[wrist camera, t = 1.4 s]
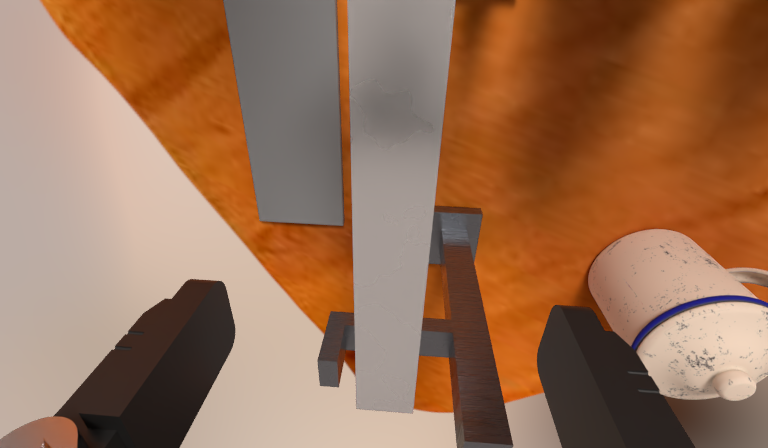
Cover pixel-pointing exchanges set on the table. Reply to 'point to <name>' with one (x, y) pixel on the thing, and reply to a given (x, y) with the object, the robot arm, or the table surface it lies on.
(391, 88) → the aluminium rail
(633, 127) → the table surface
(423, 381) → the table surface
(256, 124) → the rubber mat
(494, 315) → the table surface
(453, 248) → the rail stand
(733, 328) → the teacup with lid
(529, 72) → the table surface
